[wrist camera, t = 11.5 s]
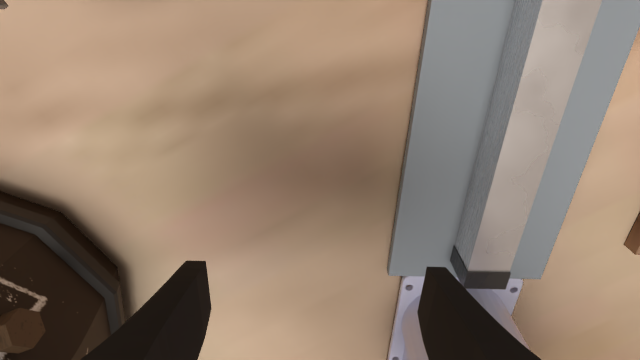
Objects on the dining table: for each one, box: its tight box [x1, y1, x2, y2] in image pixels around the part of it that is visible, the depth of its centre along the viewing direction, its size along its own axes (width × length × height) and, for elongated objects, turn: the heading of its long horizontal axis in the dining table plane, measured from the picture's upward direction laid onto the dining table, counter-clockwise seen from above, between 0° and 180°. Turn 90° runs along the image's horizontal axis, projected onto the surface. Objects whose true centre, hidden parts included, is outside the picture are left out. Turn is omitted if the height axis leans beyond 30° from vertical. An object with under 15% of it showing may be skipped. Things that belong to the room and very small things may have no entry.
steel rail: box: [450, 0, 602, 289], centre depth 18 cm, size 23×2×2 cm, turn 178°
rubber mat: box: [387, 0, 640, 279], centre depth 20 cm, size 26×10×1 cm, turn 178°
